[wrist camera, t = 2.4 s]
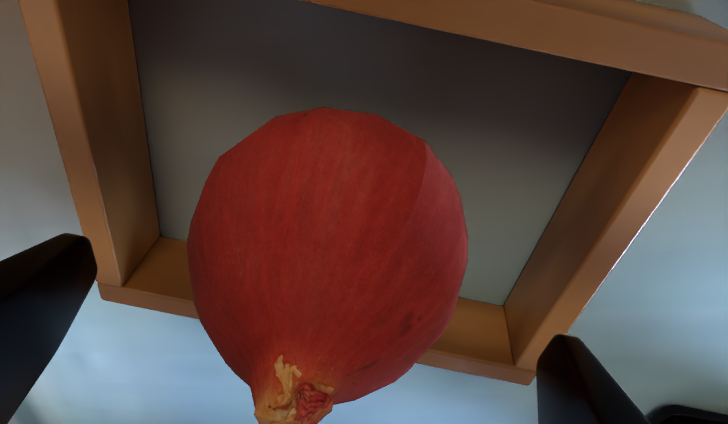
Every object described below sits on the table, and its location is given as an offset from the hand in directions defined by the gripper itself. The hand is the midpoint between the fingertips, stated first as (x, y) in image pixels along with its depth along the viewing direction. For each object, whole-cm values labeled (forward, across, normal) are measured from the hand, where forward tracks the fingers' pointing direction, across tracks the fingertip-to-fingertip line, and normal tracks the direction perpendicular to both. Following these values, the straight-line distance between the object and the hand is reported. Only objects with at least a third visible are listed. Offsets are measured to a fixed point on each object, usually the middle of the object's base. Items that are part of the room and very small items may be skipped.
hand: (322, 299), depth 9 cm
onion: (+5, 0, 0) cm, 5 cm away
